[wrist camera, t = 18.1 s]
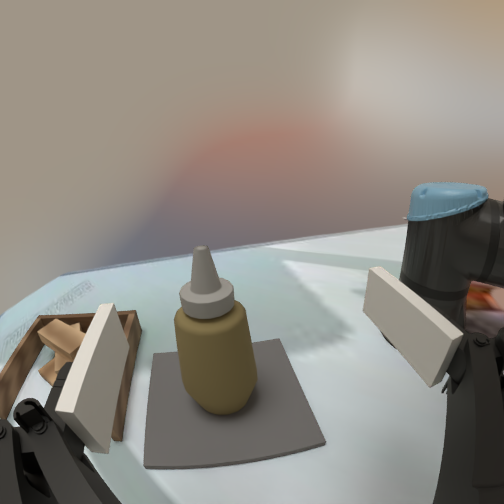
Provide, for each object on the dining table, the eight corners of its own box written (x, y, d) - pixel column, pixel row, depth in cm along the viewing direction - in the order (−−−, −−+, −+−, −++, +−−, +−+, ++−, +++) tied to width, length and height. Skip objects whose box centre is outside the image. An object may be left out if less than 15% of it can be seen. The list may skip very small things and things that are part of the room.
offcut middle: (83, 332, 38) (79, 322, 38) (88, 374, 30) (82, 363, 29) (60, 338, 36) (56, 329, 35) (60, 381, 27) (54, 371, 27)
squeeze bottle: (263, 375, 31) (258, 232, 25) (252, 428, 24) (241, 271, 17) (200, 368, 33) (175, 232, 26) (179, 416, 25) (132, 267, 19)
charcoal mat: (324, 444, 22) (325, 441, 22) (146, 468, 19) (143, 465, 19) (279, 342, 38) (279, 338, 38) (155, 357, 36) (153, 353, 35)
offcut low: (109, 350, 38) (105, 340, 37) (59, 394, 27) (53, 384, 27) (91, 340, 39) (87, 331, 39) (43, 380, 29) (38, 370, 28)
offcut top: (60, 328, 36) (56, 318, 35) (95, 347, 32) (91, 336, 32) (42, 342, 32) (37, 331, 31) (75, 365, 28) (69, 353, 28)
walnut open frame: (121, 441, 22) (107, 421, 20) (1, 419, 19) (-15, 399, 17) (141, 330, 42) (135, 310, 40) (46, 333, 38) (38, 315, 37)
